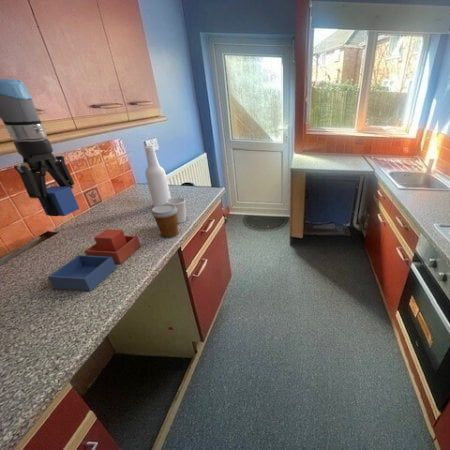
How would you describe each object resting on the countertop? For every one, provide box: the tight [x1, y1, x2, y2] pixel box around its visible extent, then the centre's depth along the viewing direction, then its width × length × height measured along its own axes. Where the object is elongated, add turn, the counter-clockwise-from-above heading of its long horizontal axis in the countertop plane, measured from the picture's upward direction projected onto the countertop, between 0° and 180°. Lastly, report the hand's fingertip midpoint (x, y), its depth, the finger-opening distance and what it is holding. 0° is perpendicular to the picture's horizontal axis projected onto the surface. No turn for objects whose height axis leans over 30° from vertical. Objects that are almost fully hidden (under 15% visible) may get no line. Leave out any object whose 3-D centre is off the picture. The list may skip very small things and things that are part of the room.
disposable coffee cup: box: [150, 204, 179, 238], centre depth 103 cm, size 10×10×12 cm
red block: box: [93, 228, 127, 252], centre depth 90 cm, size 6×6×8 cm
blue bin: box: [47, 254, 117, 292], centre depth 79 cm, size 11×11×5 cm
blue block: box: [38, 185, 80, 217], centre depth 82 cm, size 6×6×8 cm
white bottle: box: [144, 145, 172, 208], centre depth 124 cm, size 9×9×30 cm
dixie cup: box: [165, 196, 187, 224], centre depth 114 cm, size 8×8×10 cm
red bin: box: [84, 235, 141, 264], centre depth 91 cm, size 11×11×5 cm
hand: (63, 211), depth 83 cm, fingers closed on blue block, 6 cm apart
